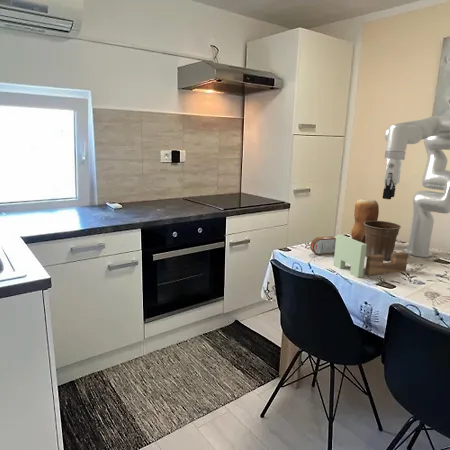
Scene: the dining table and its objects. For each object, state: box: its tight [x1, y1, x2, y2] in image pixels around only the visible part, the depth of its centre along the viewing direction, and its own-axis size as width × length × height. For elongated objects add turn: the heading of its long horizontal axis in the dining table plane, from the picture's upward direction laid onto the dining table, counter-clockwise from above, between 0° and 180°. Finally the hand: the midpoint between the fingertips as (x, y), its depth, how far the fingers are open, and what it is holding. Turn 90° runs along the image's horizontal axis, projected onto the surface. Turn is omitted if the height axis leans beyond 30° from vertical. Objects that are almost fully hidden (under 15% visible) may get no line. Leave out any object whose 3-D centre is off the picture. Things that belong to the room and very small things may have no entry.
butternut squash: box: [350, 198, 380, 244], centre depth 194 cm, size 14×13×25 cm
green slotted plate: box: [332, 233, 367, 279], centre depth 157 cm, size 16×2×14 cm, turn 21°
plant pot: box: [364, 220, 402, 261], centre depth 177 cm, size 16×16×16 cm
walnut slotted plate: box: [364, 251, 409, 277], centre depth 157 cm, size 2×20×8 cm, turn 111°
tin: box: [310, 235, 336, 255], centre depth 180 cm, size 15×3×8 cm, turn 108°
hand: (388, 197), depth 153 cm, fingers open, 9 cm apart
